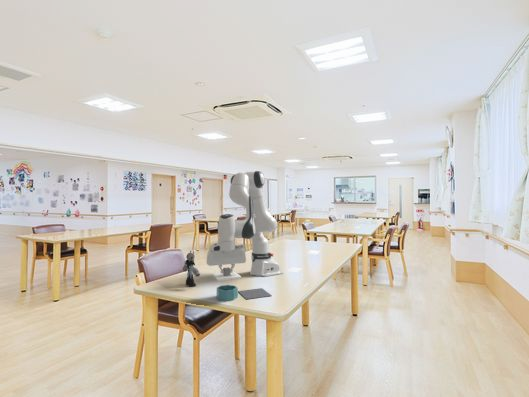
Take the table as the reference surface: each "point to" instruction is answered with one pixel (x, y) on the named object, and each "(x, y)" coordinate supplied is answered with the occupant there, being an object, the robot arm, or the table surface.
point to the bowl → (227, 292)
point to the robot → (190, 269)
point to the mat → (254, 293)
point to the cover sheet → (226, 275)
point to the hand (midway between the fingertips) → (226, 272)
